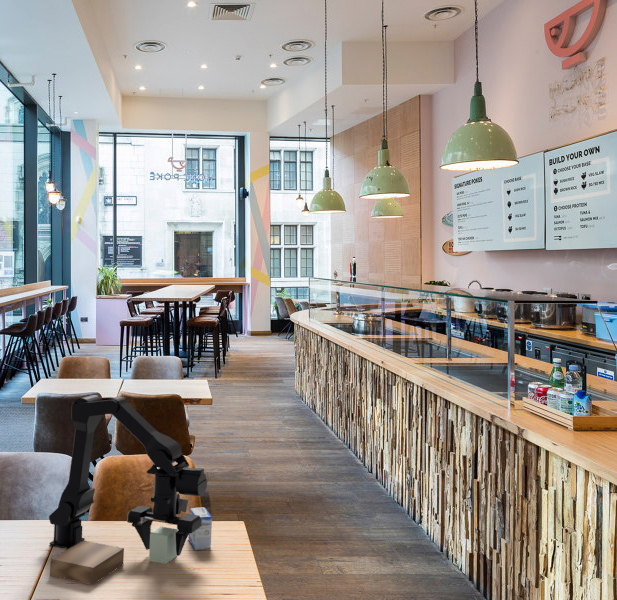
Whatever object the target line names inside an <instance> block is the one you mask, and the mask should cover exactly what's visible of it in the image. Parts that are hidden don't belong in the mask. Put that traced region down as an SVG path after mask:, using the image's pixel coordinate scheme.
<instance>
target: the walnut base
mask: <svg viewBox="0 0 617 600" xmlns="http://www.w3.org/2000/svg"><path fill="white" fill-rule="evenodd" d="M124 555H125V548H124V547H119V546H115V545H109V544H103V543H98V542H95V541H87V540H84V541H82V542H80V543H78V544H76V545H74V546H73V547H71V548H69V549H67V548H66V550H64V551H62V552H60V553H59V554H57V555H55V556H53V557H51V558H50V563H49V564H50V566H49V567H50V568H49V576H50V577H54V578H60V579H64V580H68V581H73V582H78V583H83V584H87V585H91V586H92V585H95V584H96V583H98V582H99V581H101V580H102V579H103V577H104V578H106V575H107V576H109V573H110V574H111V573H113V572H114V571H115V569H116V568H117V569H118V567H119V566H120V567H122V566H123V565H124ZM122 564H123V565H122ZM121 565H122V566H121ZM120 567H119V568H120ZM117 569H116V570H117ZM112 571H113V572H112ZM101 578H102V579H101ZM100 579H101V580H100ZM98 580H99V581H98ZM97 581H98V582H97ZM94 583H95V584H94Z"/></svg>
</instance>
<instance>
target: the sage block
mask: <svg viewBox="0 0 617 600" xmlns="http://www.w3.org/2000/svg"><path fill="white" fill-rule="evenodd" d="M177 531H179V530H178V529H177V528H172V527H166V526H159V527H157V528H156V529H154V530H152V531H151V533H150V549H148V551H149V554H148V556H149V557H148V560H151V561H150V562H154V561H155V562H154V563H159V562H160V563H161V564H164V563H166V564H165V565H167V564H168V563H169V561H170V562H171V561H173V560H174V559H175V558H177V557H178V556H177V553H176V532H177ZM173 558H174V559H173Z"/></svg>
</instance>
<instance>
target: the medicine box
mask: <svg viewBox="0 0 617 600" xmlns="http://www.w3.org/2000/svg"><path fill="white" fill-rule="evenodd" d="M189 514H193V515H199V516H200V517H201V519H202V526H201V527H200V528H198V529H197V530H195V531H194V532H193V533H190V534H189V535H188V537H187V538H188V540H189V542H190V544H191V545H192V547H193V548H194V550H195V551H196V550H207V549H211V545H212V528H213V527H212V526H213V525H212V524H213V517H212V515H211V514H210V512H209V511H208V509H206V507H191V508H190V509H189Z"/></svg>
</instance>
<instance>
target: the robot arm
mask: <svg viewBox="0 0 617 600" xmlns="http://www.w3.org/2000/svg"><path fill="white" fill-rule="evenodd" d="M70 415H71V419H70V420H71V423H72V424H73V426H74V430H75V431H74V438H73V446H72V453H71V461H70V467H69V476H68V482H67V484H66V485H65V488H64V489H63V491H62V492H61V496H60V498H59V502H58V505H57V508H56V509H55V510H54V511H53V512H52V513H51V514H50V515H48V519H49V522H50V525H53V528H54V529H53V540H52V541H50V542H49V546H53V547H59V548H63V549H66V550H67V549H69V548H71V547H73V546H74V545H76V544H78V543H80V542H82V541H86V540H85V539H86V538H85V537H83V525H82V519H81V518H82V517H84V516H85V515H86V513H87V511H88V510H89V509H90V508H91V507H92V504H94V503H95V500H94V495H95V493H96V489H95V488H92V487H90V484H89V477H90V476H89V475H90V467H91V460H92V454H93V453H92V452H93V447H94V446H93V445H94V438H95V431H96V428H97V426H98V425H99V423H100V422H101V420H102V417H103V415H104V416H105V415H112V416H113V417H114V418H115V419H116V420H117V421H118V423H120V424H121V425H122V426H123V427H124V428H125V429H126V430H128V431H129V433H131V435H133V436H134V437H135V439H136V440H138V441H139V442H140V444H142V445H143V447H144V448H145V449H144V450H145V452H146V455H147V456H148V458H149V459H150V461H151V462H152V463H153V464H152V466H151V467H150V468H149V469H147V470H146V474H148V475H154V483H153V486H154V487H153V496H152V497H150V502H152V503H153V505H152V506H153V507H150V506H146V505H138V506H136V507H135V508H133V509H131V510H129V512H128V513H127V518H126V522H127V523H129V524H131V526H132V527H133V528H134V529H135V531H136V532H137V534H138V535H139V538H140V539H141V542H142V543H143V545H144V548H145V550H146V551H149V549H150V533H151V532H152V529H151V528H152V524H153V522H159V523H164V524H170V525H174V526H175V525H176V529H178V531H177V532H176V553H177V556H176V557H179V556H180V555H181V554H182V552H183V549H184V547H185V543H186V541H187V538H188V536H189V534H190V533H193V532H194V531H195V530H197V529H198V528H200V527H201V526H202V519H201V517H200V516H199V515H193V514H190V513H187V514H185V515H183V516H182V517H180V516H177V515H180V514H181V513H182V512H184V513H186V512H187V508H188V503H189V499H186V498H180V497H181V495H184V496H191V497H192V496H193V497H198V498H199V497H200V498H202V497H203V496H204V495H205V493H206V492H207V486H208V479H207V476H206V473H205V469H204V468H202V467H198V468H194V467H190V464H189V462H188V460H187V459H186V457H185V455H184V454H183V451H182V446H181V444H180V443H179V442H177V441H176V440H175V439H173V438H172V437H170V436H169V435H166V434H163V433H161V432H159V431H158V430H156V428H154V427H153V426H152V424H151V423H149V422H148V421H147V420H146V419H145V418H144V417H143V416H142V415H141V414H140V413H139V412H137V410H136V409H134V407H133V406H131V404H130V403H128V400H127V399H126V398H125V397H122V396H117V397H110V396H109V397H101V396H100V395H97V394H92V395H88V396H87V395H86V396H83V397H80V398H77V399H75V400H74V401H73V402H72V404H71V412H70ZM175 463H176V464H175ZM152 508H153V509H152Z"/></svg>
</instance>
